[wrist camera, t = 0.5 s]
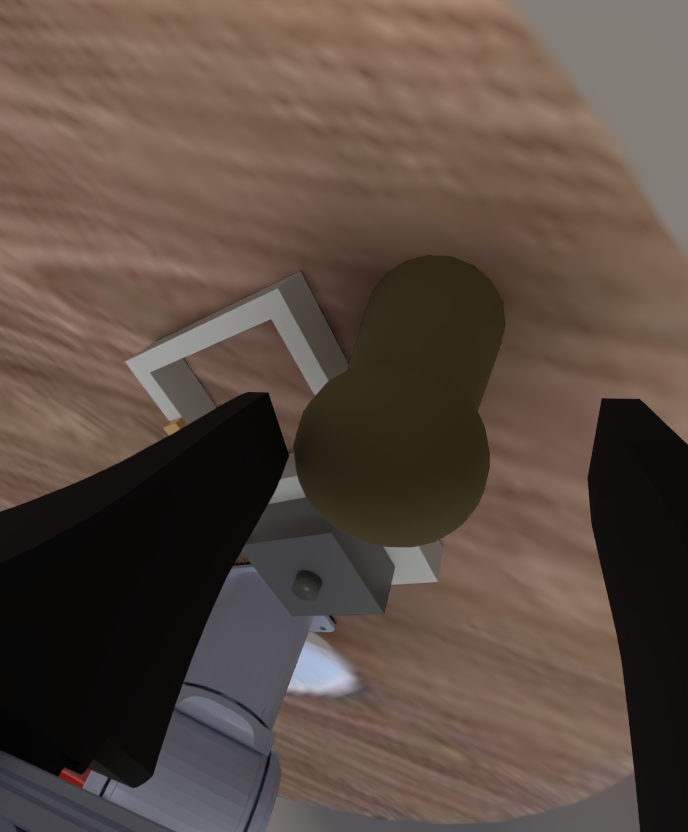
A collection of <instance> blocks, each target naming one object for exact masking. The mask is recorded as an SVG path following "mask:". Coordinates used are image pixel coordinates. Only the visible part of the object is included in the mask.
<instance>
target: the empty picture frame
mask: <svg viewBox="0 0 688 832" xmlns="http://www.w3.org/2000/svg"><path fill="white" fill-rule="evenodd" d="M270 319H271V320H272V321H273V323H274V325H275V327H276V328H277V330H278V332H279V334H280V335H281V337H282V339H283V341H284V342H285V344H286V346H287V348H288V349H289V351H290V353H291V355H292V356H293V358H294V360H295V362H296V363H297V365H298V367H299V369H300V371H301V372H302V374H303V376H304V378H305V379H306V381H307V383H308V385H309V386H310V388H311V390H312V392H313V393H314V395H315V396H316V394H317V393H318V392H319V391H320V390H321V389H322V387H323V386H324V385H325V384H326V383H327V382H328V381H330V380H331V379H333V378H334V377H336V376H338V375H339V374H341V373H343V372H345V371H347V368H348V365H349V364H348V362H347V360H346V358H345V356H344V355H343V353H342V351H341V349H340V347H339V345H338V343H337V341H336V339H335V337H334V335H333V333H332V331H331V329H330V327H329V325H328V323H327V321H326V320H325V318H324V316H323V314H322V312H321V310H320V308H319V306H318V304H317V302H316V300H315V298H314V296H313V294H312V292H311V290H310V288H309V287H308V285H307V283H306V281H305V279H304V277H303V275H302V273H301V271H299V272H297V273H295V274H293V275H291V276H289V277H287V278H285V279H282V280H280V281H278V282H276V283H274V284H272V285H270V286H268V287H266V288H264V289H262V290H260V291H258V292H256V293H254V294H252V295H250V296H248V297H246V298H244V299H242V300H240V301H238V302H236V303H233V304H231V305H229V306H227V307H225V308H223V309H221V310H219V311H217V312H215V313H213V314H211V315H209V316H207V317H205V318H203V319H201V320H199V321H197V322H195V323H193V324H191V325H189V326H186V327H184V328H182V329H180V330H178V331H176V332H174V333H172V334H170V335H168V336H166V337H164V338H162V339H160V340H158V341H156V342H154V343H153V344H151V345H150V346H148V347H147V348H145V349H144V350H142V351H140V352H139V353H137V354H136V355H134V356H133V357H131V358H130V359H128V360H127V361H125V362H126V364H127V365H128V366H129V368H130V369H131V370H132V372H133V373H134V374H135V376H136V377H137V378H138V380H139V381H140V382H141V384H142V385H143V386H144V388H145V389H146V390H147V392H148V393H149V394H150V396H151V397H152V399H153V400H154V401H155V403H156V404H157V405H158V407H159V408H160V409H161V411H162V412H163V413H164V415H165V416H166V417H167V419H168V420H169V421H170V422H168V423H167V424H166V425H165V426H164V427H163V428H164V430H165V431H166V432H167V434H168V435H171V434H173V433H175V432H176V431H178V430H180V429H181V428H183V427H185V426H187V425H188V424H190V423H192V422H193V421H195V420H197V419H198V418H200V417H202V416H204V415H205V414H207V413H209V412H210V411H212V410H214V409H216V408H217V407H216V406H215V404H214V403H213V401H212V400H211V398H210V397H209V396H208V394H207V393H206V391H205V390H204V388H203V387H202V385H201V384H200V382H199V381H198V380H197V378H196V377H195V375H194V374H193V372H192V371H191V369H190V368H189V366H188V365H187V363H186V362H185V361H184V359H183V358H184V357H186V356H188V355H191V354H193V353H195V352H198V351H200V350H202V349H204V348H207V347H209V346H211V345H213V344H216V343H218V342H220V341H222V340H225V339H227V338H229V337H231V336H234V335H236V334H238V333H240V332H243V331H245V330H247V329H250V328H252V327H254V326H256V325H259V324H261V323H263V322H265V321H268V320H270ZM442 549H443V547H442V545H441V543H440V541H439V540H437V541H436V542H434V543H429V544H425V545H421V546H417V547H412V548H406V547H385V546H380V545H376V544H372V543H368V542H363V541H361V540H359V539H357V538H355V537H353V536H350V535H348V534H346V533H344V532H342V531H340V530H339V529H337V528H336V527H335V526H333V525H332V524H331V523H329V522H328V521H327V520H325V519H324V518H322V517H321V515H320V514H319V513H318V512H317V511H316V510H315V508H314V507H313V506H312V505H311V504H310V503H309V501H308V500H307V498H306V496H305V494H304V492H303V489H302V487H301V485H300V483H299V481H298V477H297V473H296V469H295V457H294V452H293V453H289V458H288V461H287V463H286V466H285V469H284V471H283V474H282V477H281V479H280V481H279V484H278V486H277V489H276V491H275V493H274V495H273V496H272V498H271V500H270V502H269V504H268V505H267V507H266V509H265V511H264V513H263V514H262V516H261V518H260V520H259V521H258V523H257V525H256V527H255V528H254V530H253V532H252V534H251V535H250V537H249V539H248V540H247V542H246V544H245V546H244V547H243V549H242V551H241V552H242V553H243V554H244V556H245V557H246V558H247V559H248V561H249V562H250V563H251V564H252V566H253V567H254V568H255V570H256V571H257V572H258V573H259V575H260V576H261V577H262V579H263V580H264V581H265V582H266V584H267V585H268V586H269V587H270V589H271V590H272V591H273V593H274V594H275V595H276V596H277V598H278V599H279V600H280V602H281V603H282V604H283V605H284V607H285V608H286V609H287V610H288V612H289V613H290V614H291V616H328V615H366V614H384V613H385V608H386V604H387V600H388V596H389V591H390V587H391V585H396V584H413V583H429V582H438V578H439V571H440V564H441V556H442Z"/></svg>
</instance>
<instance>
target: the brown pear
mask: <svg viewBox="0 0 688 832" xmlns="http://www.w3.org/2000/svg"><path fill="white" fill-rule="evenodd" d="M504 327H505V317H504V310H503V302H502V300H501V298H500V296H499V294H498V293H497V291H496V289H495V287H494V285H493V283H492V282H491V281H490V280H489V279H488V278H487V277H486V276H485V275H484V274H482V273H481V272H480V271H479V270H478V269H477V268H476V267H475V266H473V265H470V264H468V263H466V262H463V261H461V260H458V259H456V258H454V257H445V256H431V255H428V256H424V257H420V258H416V259H412V260H408V261H405V262H404V263H402V264H400V265H399V266H397V267H396V268H394V269H393V270H391V271H390V272H388V273H387V274H386V275H385V276H384V277H383V279H382V280H381V281H380V282H379V284H378V285H377V286H376V287H375V289H374V290H373V293H372V295H371V298H370V301H369V304H368V306H367V309H366V312H365V315H364V318H363V322H362V325H361V328H360V331H359V334H358V337H357V340H356V343H355V347H354V350H353V353H352V356H351V359H350V362H349V365H348V368H347V371H345V372H343V373H341V374H339V375H338V376H336V377H334V378H333V379H331V380H330V381H328V382H327V383H326V384H325V385H324V386H323V387H322V389H321V390H320V391H319V392H318V393H317V394H316V396H315V397H314V398H313V399H312V400H311V402H310V403H309V404H308V406H307V407H306V409H305V410H304V411H303V415H302V418H301V421H300V424H299V427H298V430H297V434H296V438H295V442H294V457H295V469H296V473H297V477H298V481H299V483H300V485H301V487H302V489H303V492H304V494H305V496H306V498H307V500H308V501H309V503H310V504H311V505H312V506H313V507H314V508H315V510H316V511H317V512H318V513H319V514H320V515H321V517H322V518H324V519H325V520H327V521H328V522H329V523H331V524H332V525H333V526H335V527H336V528H337V529H339V530H340V531H342V532H344V533H346V534H348V535H350V536H353V537H355V538H357V539H359V540H361V541H363V542H368V543H372V544H376V545H380V546H385V547H406V548H412V547H417V546H421V545H425V544H429V543H434V542H436V541H437V540H439V539H441V538H443V537H444V536H446V535H448V534H449V533H451V532H453V531H454V530H455V529H457V528H458V527H459V526H461V525H462V524H463V523H464V522H465V521H466V520H467V518H468V517H469V516H470V514H471V513H472V512H473V511H474V509H475V508H476V507H477V505H478V504H479V501H480V499H481V497H482V495H483V492H484V489H485V485H486V481H487V477H488V472H489V468H490V452H489V447H488V441H487V436H486V431H485V427H484V424H483V422H482V420H481V417H480V415H479V414H478V409H479V406H480V403H481V400H482V397H483V394H484V392H485V389H486V386H487V383H488V380H489V377H490V374H491V371H492V368H493V366H494V363H495V360H496V357H497V354H498V351H499V348H500V345H501V341H502V337H503V332H504Z"/></svg>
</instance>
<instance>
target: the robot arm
mask: <svg viewBox="0 0 688 832" xmlns="http://www.w3.org/2000/svg"><path fill="white" fill-rule="evenodd" d="M288 458H289V454H288V451H287V448H286V445H285V442H284V439H283V436H282V433H281V430H280V427H279V424H278V421H277V417H276V414H275V411H274V408H273V405H272V402H271V399H270V396H269V393H264V392H247V393H244V394H242V395H240V396H238V397H236V398H234V399H232V400H230V401H228V402H226V403H224V404H223V405H221V406H219V407H217V408H216V409H214V410H212V411H210V412H209V413H207V414H205V415H204V416H202V417H200V418H198V419H197V420H195V421H193V422H192V423H190V424H188V425H187V426H185V427H183V428H181V429H180V430H178V431H176V432H175V433H173V434H171V435H169V436H168V437H166V438H164V439H162V440H160V441H159V442H157V443H155V444H153V445H151V446H149V447H148V448H146V449H144V450H142V451H140V452H139V453H137V454H135V455H133V456H131V457H129V458H127V459H125V460H124V461H122V462H120V463H118V464H116V465H114V466H111V467H109V468H107V469H105V470H103V471H101V472H99V473H97V474H94V475H92V476H90V477H88V478H86V479H84V480H81V481H79V482H77V483H74V484H72V485H70V486H67V487H65V488H62V489H59V490H57V491H54V492H52V493H49V494H47V495H44V496H42V497H39V498H37V499H34V500H32V501H29V502H27V503H24V504H21V505H18V506H16V507H13V508H10V509H7V510H4V511H1V512H0V832H265V831H266V828H267V825H268V823H269V820H270V817H271V814H272V811H273V808H274V804H275V801H276V797H277V794H278V790H279V785H280V780H281V767H280V763H279V756H278V754H277V753H276V752H275V751H273V750H271V748H272V745H273V742H274V740H275V737H276V734H275V733H274V732H272V728H273V726H274V723H275V720H276V718H277V715H278V712H279V710H280V707H281V704H282V702H283V699H284V696H285V694H286V691H287V688H288V686H289V683H290V680H291V678H292V675H293V672H294V670H295V667H296V664H297V662H298V659H299V656H300V654H301V651H302V648H303V646H304V643H305V640H306V638H307V635H308V632H333V631H334V629H335V624H334V622H333V621H332V620H331V618H330V617H329V616H291V614H290V613H289V612H288V610H287V609H286V608H285V607H284V605H283V604H282V603H281V602H280V600H279V599H278V598H277V596H276V595H275V594H274V593H273V591H272V590H271V589H270V587H269V586H268V585H267V584H266V582H265V581H264V580H263V579H262V577H261V576H260V575H259V573H258V572H257V571H256V570H255V568H254V567H253V566H252V564H248V565H238V566H233V565H234V563H235V561H236V560H237V558H238V556H239V554H240V553H241V551H242V549H243V547H244V546H245V544H246V542H247V540H248V539H249V537H250V535H251V534H252V532H253V530H254V528H255V527H256V525H257V523H258V521H259V520H260V518H261V516H262V514H263V513H264V511H265V509H266V507H267V505H268V504H269V502H270V500H271V498H272V496H273V495H274V493H275V491H276V489H277V486H278V484H279V481H280V479H281V477H282V474H283V471H284V469H285V466H286V463H287V461H288ZM588 489H589V501H590V512H591V522H592V528H593V532H594V537H595V541H596V546H597V550H598V555H599V559H600V564H601V568H602V572H603V577H604V581H605V585H606V590H607V594H608V598H609V603H610V607H611V612H612V616H613V620H614V625H615V629H616V633H617V638H618V644H619V649H620V655H621V660H622V668H623V676H624V685H625V693H626V701H627V709H628V717H629V726H630V736H631V745H632V754H633V763H634V772H635V782H636V792H637V802H638V813H639V824H640V832H688V444H687V443H685V442H684V441H683V440H682V439H681V438H680V437H679V436H678V435H677V434H676V433H675V432H674V431H673V430H672V429H671V428H670V427H669V426H668V425H667V424H665V423H664V422H663V421H662V420H661V419H660V418H659V417H658V416H657V415H656V414H655V413H654V412H653V411H652V410H651V409H650V408H649V407H648V406H647V405H646V404H645V403H644V402H642V401H641V400H640V399H607V398H602V400H601V406H600V411H599V417H598V423H597V428H596V434H595V440H594V445H593V451H592V457H591V462H590V468H589V474H588ZM64 768H67V769H69V770H71V771H73V772H75V773H78V774H80V775H82V774H83V773H85V772H86V770H87V768H88V769H90V770H91V772H90V774H89V776H88V778H87V780H86V782H85V784H84V786H83V788H81V787H79V786H77V785H74V784H72V783H70V782H68V781H66V780H64V779H62V778H59V777H58V776H59V775H60V773H61V772H62V770H63V769H64Z"/></svg>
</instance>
